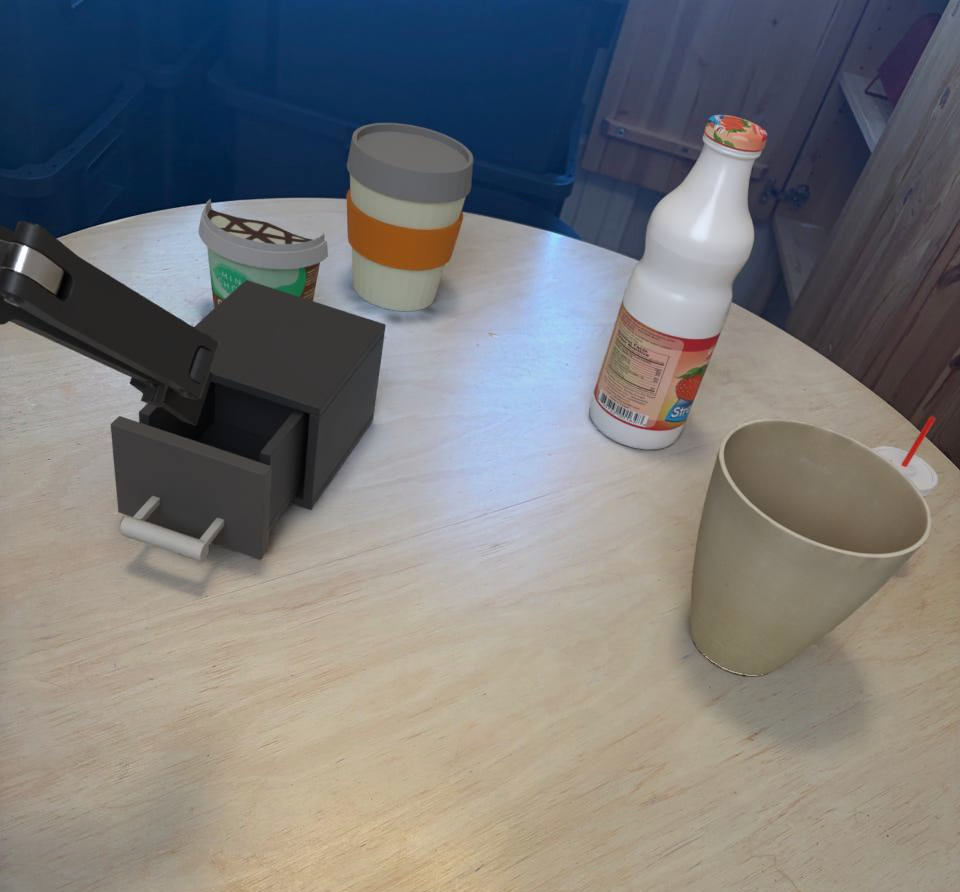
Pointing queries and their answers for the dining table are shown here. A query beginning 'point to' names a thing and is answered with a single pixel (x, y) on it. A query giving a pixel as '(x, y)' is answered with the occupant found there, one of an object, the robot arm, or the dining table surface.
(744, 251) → the fruit juice
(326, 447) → the cabinet
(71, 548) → the dining table surface
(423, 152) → the reusable coffee cup
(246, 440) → the drawer
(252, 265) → the food container
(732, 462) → the plant pot
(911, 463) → the beverage cup
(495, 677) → the dining table surface
